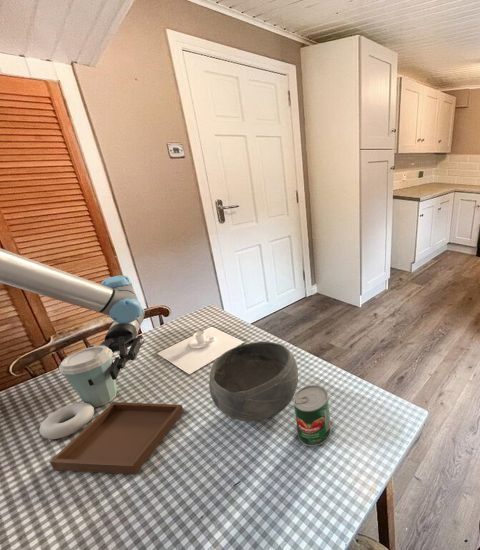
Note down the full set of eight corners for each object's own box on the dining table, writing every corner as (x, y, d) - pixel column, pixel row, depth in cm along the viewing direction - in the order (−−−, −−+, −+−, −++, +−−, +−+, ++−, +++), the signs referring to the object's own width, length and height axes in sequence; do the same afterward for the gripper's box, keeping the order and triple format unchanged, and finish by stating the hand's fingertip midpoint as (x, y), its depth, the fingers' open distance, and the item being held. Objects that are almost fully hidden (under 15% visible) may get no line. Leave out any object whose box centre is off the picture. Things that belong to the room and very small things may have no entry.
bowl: (220, 390, 86) (209, 346, 81) (295, 372, 93) (290, 331, 88) (214, 454, 68) (200, 403, 63) (307, 425, 75) (302, 377, 69)
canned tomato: (326, 414, 78) (323, 381, 74) (334, 440, 71) (332, 404, 67) (295, 424, 75) (291, 390, 71) (301, 451, 69) (296, 415, 64)
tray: (53, 470, 65) (48, 461, 64) (116, 409, 80) (113, 401, 79) (135, 474, 64) (132, 466, 63) (184, 412, 79) (181, 404, 78)
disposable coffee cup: (68, 408, 81) (44, 363, 75) (110, 381, 90) (92, 339, 85) (96, 417, 78) (73, 371, 72) (136, 388, 87) (119, 345, 82)
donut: (100, 422, 77) (91, 402, 83) (96, 412, 75) (86, 393, 81) (46, 450, 70) (39, 427, 75) (39, 440, 68) (34, 416, 74)
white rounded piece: (220, 341, 109) (218, 331, 107) (199, 352, 103) (196, 342, 101) (206, 334, 113) (203, 324, 112) (184, 344, 107) (182, 335, 106)
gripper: (157, 336, 102) (145, 379, 83) (93, 350, 96) (64, 400, 76) (150, 316, 99) (136, 357, 80) (84, 329, 93) (52, 377, 73)
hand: (101, 378), depth 78 cm, fingers open, 4 cm apart
